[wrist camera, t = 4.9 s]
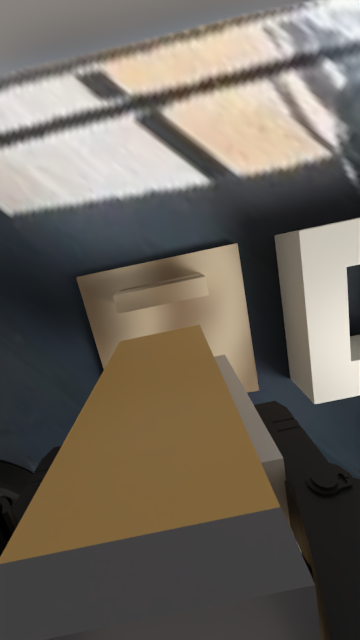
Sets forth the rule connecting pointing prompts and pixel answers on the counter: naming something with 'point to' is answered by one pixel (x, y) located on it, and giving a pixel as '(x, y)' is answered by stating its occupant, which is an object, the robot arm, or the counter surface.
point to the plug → (157, 516)
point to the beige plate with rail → (175, 304)
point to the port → (320, 308)
